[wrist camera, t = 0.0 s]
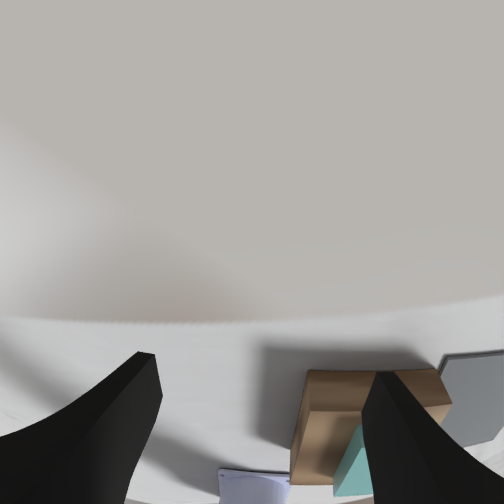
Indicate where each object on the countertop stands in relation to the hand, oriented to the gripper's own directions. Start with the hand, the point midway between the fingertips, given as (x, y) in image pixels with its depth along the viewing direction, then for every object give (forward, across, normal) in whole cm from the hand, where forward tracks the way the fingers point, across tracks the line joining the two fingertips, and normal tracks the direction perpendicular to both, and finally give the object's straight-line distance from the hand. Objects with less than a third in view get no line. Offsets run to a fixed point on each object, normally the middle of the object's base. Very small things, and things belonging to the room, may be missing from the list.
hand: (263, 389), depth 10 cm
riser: (+10, -8, +14) cm, 19 cm away
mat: (+10, -21, +14) cm, 27 cm away
